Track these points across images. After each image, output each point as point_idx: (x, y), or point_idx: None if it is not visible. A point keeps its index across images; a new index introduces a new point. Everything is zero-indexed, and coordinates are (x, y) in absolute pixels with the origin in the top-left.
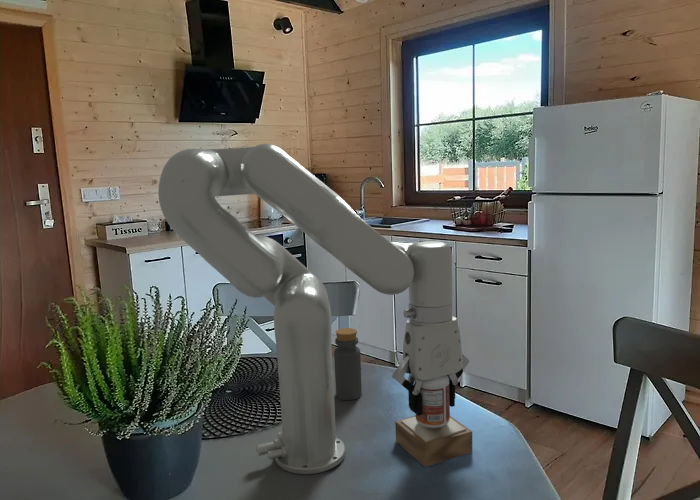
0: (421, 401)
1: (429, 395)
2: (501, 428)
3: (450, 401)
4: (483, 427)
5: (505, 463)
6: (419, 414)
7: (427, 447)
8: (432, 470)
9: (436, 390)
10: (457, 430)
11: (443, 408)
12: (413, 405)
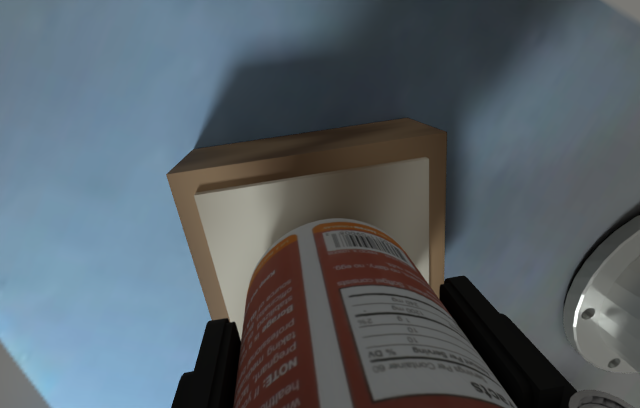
0: (499, 339)
1: (475, 367)
2: (4, 267)
3: (231, 348)
4: (79, 291)
5: (84, 15)
6: (465, 277)
7: (425, 131)
8: (393, 87)
9: (446, 399)
10: (242, 194)
11: (327, 273)
12: (519, 332)
